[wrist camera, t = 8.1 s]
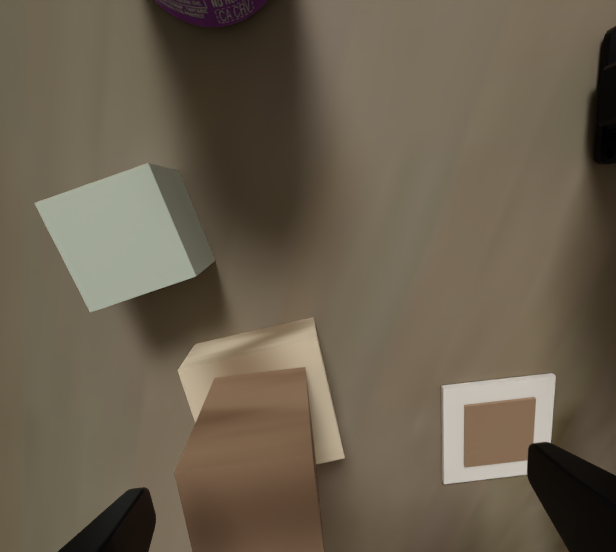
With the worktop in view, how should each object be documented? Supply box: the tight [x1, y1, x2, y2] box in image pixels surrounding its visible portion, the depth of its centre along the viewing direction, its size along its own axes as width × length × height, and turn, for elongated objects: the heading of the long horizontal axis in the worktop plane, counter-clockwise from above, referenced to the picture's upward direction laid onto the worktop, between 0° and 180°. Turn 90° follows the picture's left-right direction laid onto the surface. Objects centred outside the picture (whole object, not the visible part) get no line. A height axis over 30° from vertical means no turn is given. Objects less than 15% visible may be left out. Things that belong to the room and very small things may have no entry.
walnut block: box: [174, 367, 324, 552], centre depth 15 cm, size 4×4×6 cm
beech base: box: [178, 317, 345, 465], centre depth 19 cm, size 7×7×4 cm
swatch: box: [441, 373, 556, 484], centre depth 22 cm, size 7×7×1 cm
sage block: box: [35, 163, 215, 312], centre depth 17 cm, size 5×5×4 cm
